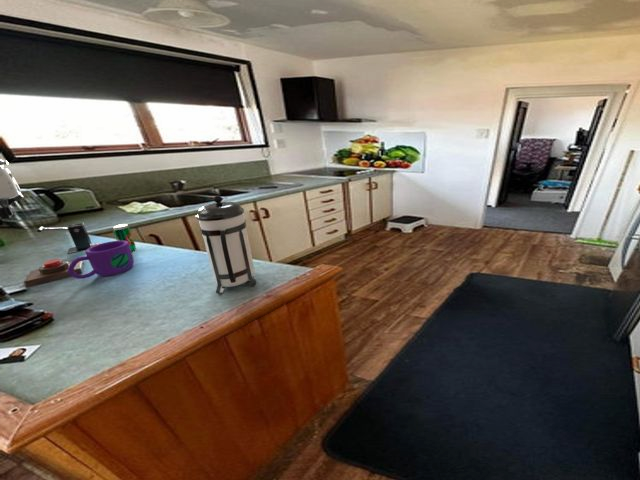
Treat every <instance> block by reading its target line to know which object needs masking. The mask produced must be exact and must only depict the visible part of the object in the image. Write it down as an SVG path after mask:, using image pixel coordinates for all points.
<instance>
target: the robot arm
mask: <svg viewBox="0 0 640 480" xmlns="http://www.w3.org/2000/svg"><path fill="white" fill-rule="evenodd" d="M8 165H9V162H8V161H7V160H2V159H0V199H1V202H2V205H1V204H0V218H1V220H6V219H8V220H9V219H11V218H12V216H14V212H13V210H12V208H11V205H12V204H13V203H14V202H17V201H21V200H23V199H25V197H24V195H23V194H22V190H21V188H20V186H19V184H18V182H17V181H16V179H15V177H14V175H13V174H12V172H11V171H10V170H9V169H8V167H4V166H8Z"/></svg>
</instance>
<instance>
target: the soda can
mask: <svg viewBox="0 0 640 480" xmlns="http://www.w3.org/2000/svg"><path fill="white" fill-rule="evenodd" d="M112 228H113V229H112V232H113V235H114V237H115V241H127V242H128V243H129V246H130V249H131V252H132V253H134V252H136V251H135V250H137V245H136V243H135V240H134V237H133V235H132V231H131V228H130V226H128V224H126V223H122V224H118V225H117V224H116V225H114V226H113V227H112ZM133 251H134V252H133Z"/></svg>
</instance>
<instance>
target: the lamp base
mask: <svg viewBox="0 0 640 480" xmlns="http://www.w3.org/2000/svg"><path fill="white" fill-rule="evenodd" d="M61 262H62V264H61V265H58V266H55V267H51V268H45V266H44V264H43V265H42V266H39V267H38V268H36V269H32V270H30V271H29V273H28V274H27V276H26V278H25V279H24V284H25V286H26V288H29V287H34V286H37V285H42V284H45V283H50V282H52V281H53V282H54V281H57V280H61V279H66V278H69V277H72V276H71V275H70V274H69V273H68V267H69V265H70V264H71V262H72V261H68V260H61ZM84 269H85V261H84V260H82V261H79V262H78V263H77V264H76V266H75V268H74V272H76V273H77V274H79V275H83V273H84Z"/></svg>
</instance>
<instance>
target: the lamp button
mask: <svg viewBox="0 0 640 480" xmlns="http://www.w3.org/2000/svg"><path fill="white" fill-rule="evenodd" d="M61 261H62V260H61V259H60V258H56V259H51V260H48V261H45V262H43V265H44V266H45V268H51V267H55V266H58V265H61V264H62V262H61Z"/></svg>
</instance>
